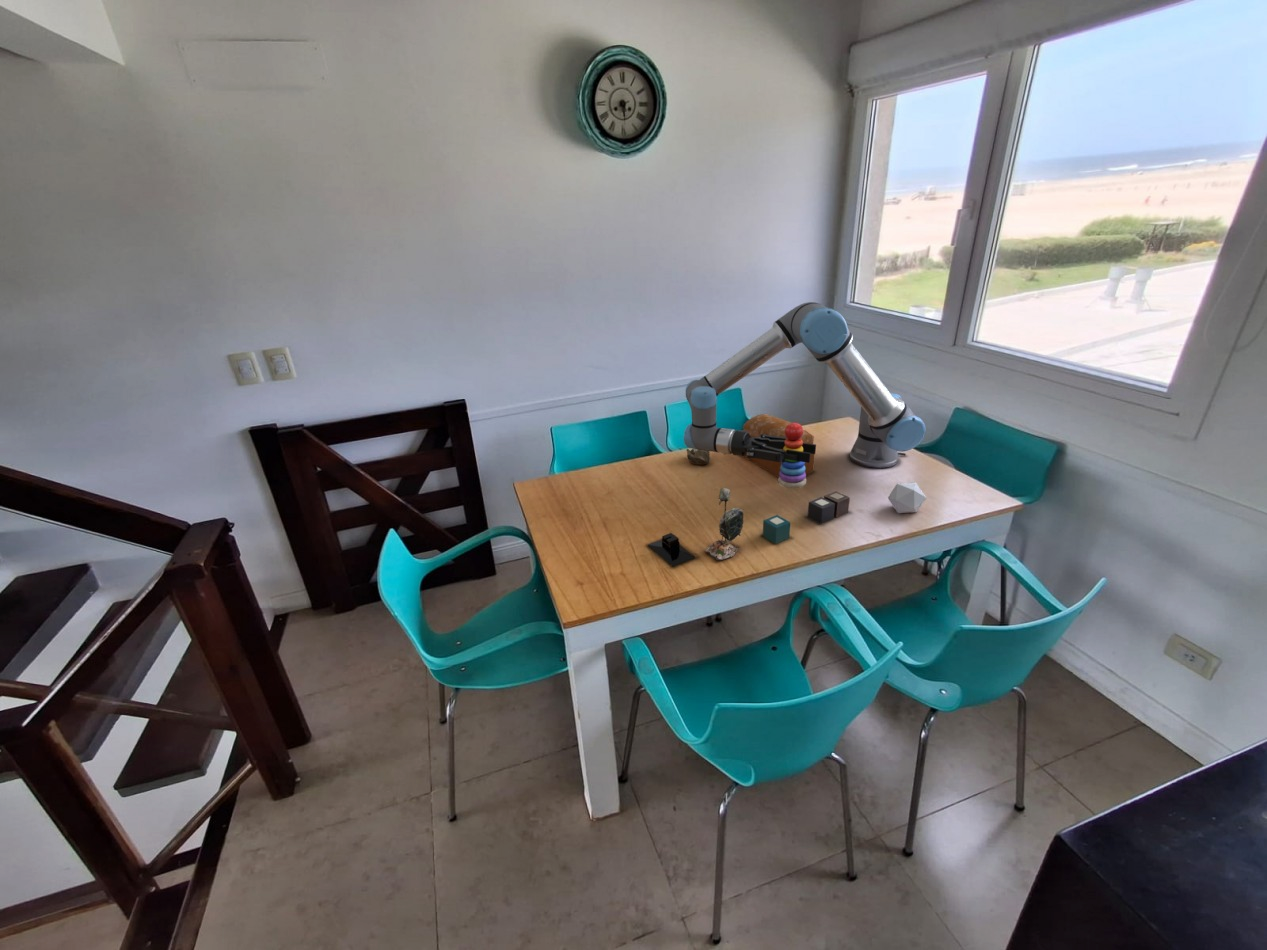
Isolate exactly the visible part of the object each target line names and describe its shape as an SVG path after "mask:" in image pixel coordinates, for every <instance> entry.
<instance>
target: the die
mask: <svg viewBox="0 0 1267 950" xmlns="http://www.w3.org/2000/svg"><path fill="white" fill-rule="evenodd" d="M887 499H888V501H889V502H890V504H891V506H892V507H893V508H894V509H895V511H896V513H897V514H908V513H909V514H910V513H917V512H918V511H919V510H920V508H921V507H922V505H923V504H924V503H925V502H926V500H927V496H926V495H925V493H924V492H923V490H922V489H921V487H920V486H919V485H918V483H917V482H901V483H896V485H895V486H894V488H893V489H892V490H891V491H890V494H889V495H888V496H887Z"/></svg>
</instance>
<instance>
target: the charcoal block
mask: <svg viewBox="0 0 1267 950" xmlns="http://www.w3.org/2000/svg"><path fill="white" fill-rule="evenodd" d="M807 507H808V508H807V518H808V519H810V520H811V521H814V522H816V523H818V524H820V525H822V524H825V523H827V522H830V521H832V520H834V519H835V517H834V509H835V503H833V502H831V501H829V500H827V499H825V498H824V496H823V497H822V496H820V497H818V498H815V499H812V500H810V501H808V506H807Z"/></svg>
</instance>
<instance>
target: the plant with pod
mask: <svg viewBox="0 0 1267 950" xmlns="http://www.w3.org/2000/svg"><path fill="white" fill-rule="evenodd" d="M730 498H731V490H730V488H727V487H723V488H720V490H719V495H718V500H719V502H718V505H719V506H720V505H721V503H723V502H724V513H723V515H721V516H722V517H720V521H719V524H718V530H719V535H720V536H721V539H720V540H719V539H718V540H716V541H714V542H712V543H711V544H710V545H708V547H707V548H706V549H705V550H704V551H705V552H706V553H708V554H709V555H711V556H712V557H713V558H715V560H716V561H722V560H726V559H728V558H731V557H734V556H735V555H736V554H737V552H738V551H739V548H740V547H739V546H735V545H734V544H731V542H732V541H734V540H735V539H736V538H737V537H738V536H739V537H741V536H742V535H741V532H742V530H743V528H744V527H743V526H744V511H745V509H741V508H738V507H733V508H731V509H728V510H727V503H728V501H729V500H730Z"/></svg>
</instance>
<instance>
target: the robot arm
mask: <svg viewBox="0 0 1267 950" xmlns="http://www.w3.org/2000/svg"><path fill="white" fill-rule="evenodd" d="M847 323H848V322H847V320H846V319H845V318H844V317H843V315H842V314H841V313H840V312H839V311H837V310H836V309H833V308H831V307H827V306H824V305H823V304H821V303H818V302H815V301H808V302H804V303H801V304H799V305H797V306H795V307H793V308H792V309H790V310H789V311H788V312H786V313H784V315H782V316H781V317H779V318H778V319H777V320H775V321H774V322H773V323H772V327H771V328H770V329H768V330H767V331H765V332H764V333H762V334H761V335H760V336H759V337H757V338H756V339H755V340H753V341H752V342H750V343H749V344H748V345H745V347H743V348H742V349H740V350H739V351H738V352H736V353H735V354H734V355H732V356H731V357H729V358H728V359H726V360H725V361H724V362H722V363H721V364H719V365H718V366H717V367H715V368H714V369H713V370H711V371H710V372H708V373H707V374H706V375H704V376H703V377H701V378H700V379H694V380H693V379H692V380H691V381H690V382H688V383H687V385H686V387H685V398H686V401H687V403H688V405H689V408H690V411H691V424H688V425H687V426H686V427H685V429H684V434H683V443H684V445H685V446H686V448H687V449H697V450H704V451H709V452H713V453H719V454H723V455H732V456H737V457H743V456H745V455H746V454H747V458H757V459H763V460H769V461H775V462H781V460H782V462H785V459H787V460H794V461H801V462H807V463H809V462H810V455H811V454H814V455H816V452H817V444H816V443H815V444H814V443H813V444H808V443H803V445H802V447H803V452H801V451H794V450H786V451H784V450H780V449H783V448H784V446H786V445H785V443H784V442H785V440H786V439H787V437H779V436H770V435H765V434H761V435H760V437H751V436H750V434H749V433H748V432H747V431H743V430H738V429H737V430H735V429H733V428H723V427H717V402H718V398H717V397H718V396H719V395H720V394H722V393H723V392H725V391H727V390H729V388H731V387H732V386H733V385H735V384H736V383H738V382H739V381H740V380H742V379H744V378H745V377H747V376H748V375H749V374H751V373H752V372H754V371H755V370H757V369H758V368H759V367H761V366H762V365H763V364H765V363H767V362H768V361H769V360H771V359H772V358H774V357H775V356H777V355H778V354H779V353H781V352H783V351H784V350H785V349H793V348H794V347H795V346H797V345H799V344H802V345H804V346H805V347H806V349H807V350H808V351H809V352H810V354H811V355H812V356H813V357H814V358H815V360H816V361H817V362H819V363H826V364H827V366H828V367H829V368H830V369H831V371H832V372H833V373H834V374H835V376H836V377H837V378H838V379H839V381H840V382H841V383H842V384H843V386H844V387H845V388H846V390H848V392H849V393H850V394H851V396H852V397H853V398H854V400H855V401H857V403H858V404H859V405H860V412H859V413H860V414H859V423H858V433H857V437H856V439H855V442H854V444H853V445H852V448H851V450H850V452H849V459H850V460H851V461H852V462H853V463H855V464H857V465H859V466H862V467H865V468H871V469H886V468H890V467H894V466H896V465H897V464H898V463H899V457H900V456H906V452H909V451H911V450H912V449H915V448H916V447H917V446H919V444H920V443H921V442H922V441H923V439H924V437H925V434H926V428H927V427H926V424H925V423H924V421H923V419H921V418H920V417H919V416H917V415H915V413H914V412H913V411H912V410H911V408H910V407H909V406H908V405H907V403H906V402H905V401H904V400H903V399H902V397H901V395H900V394H897V393H893V392H890V391H889V389H888V388H887V387H886V385H885V384H884V383H883V381H882V380H881V379H880V378H879V376H878V375H877V374H876V373H875V371H874V370H873V369H872V368H871V366H870V365H869V363H868V362H867V361H866V360H865V358H864V357H863V356H862V355H861V353H860V351H858V350H857V348H856V346H855V345H854V344H853V343H852V342H853V338H854V335H853V333H852V332H851V331H850V329H849V328H848V324H847ZM766 444H767V446H766Z"/></svg>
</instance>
